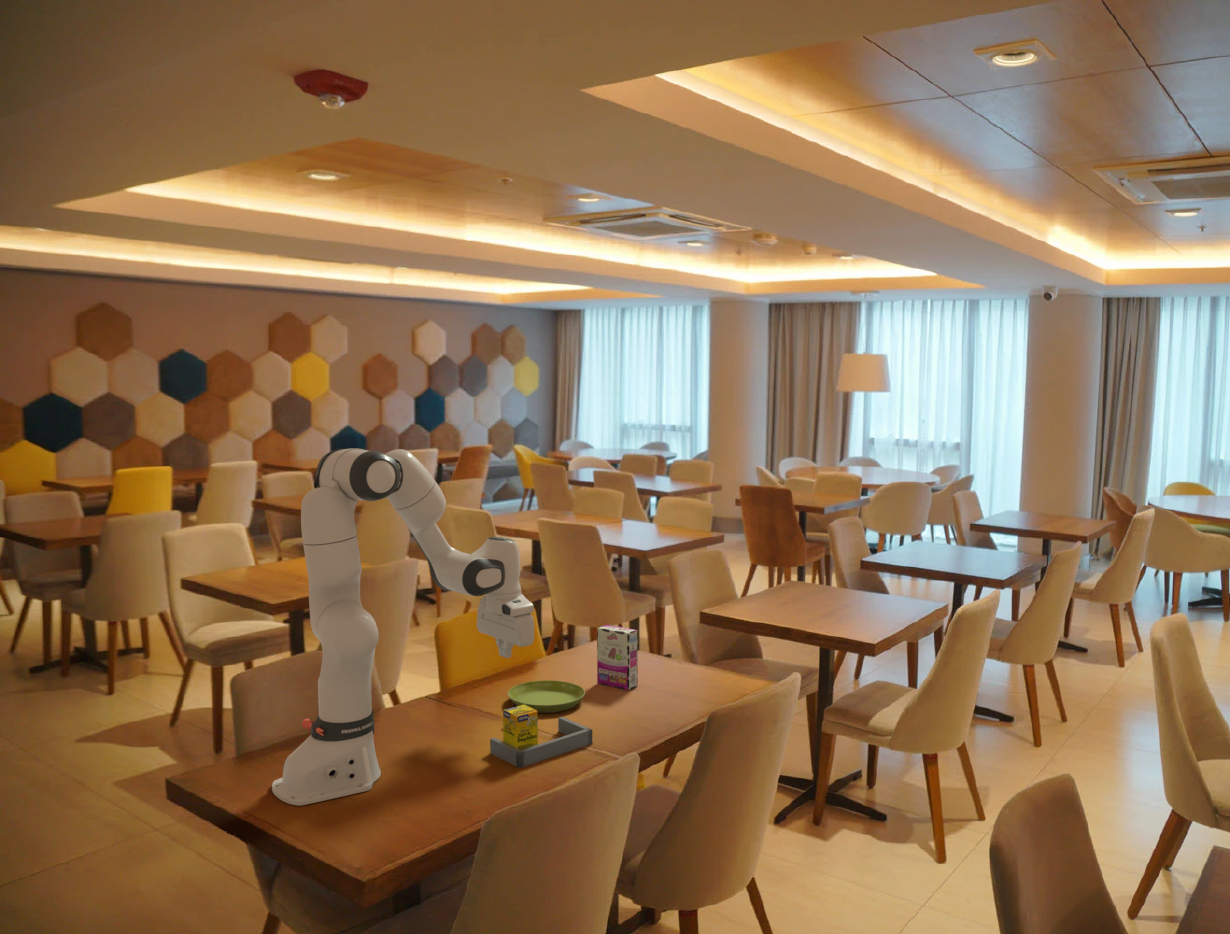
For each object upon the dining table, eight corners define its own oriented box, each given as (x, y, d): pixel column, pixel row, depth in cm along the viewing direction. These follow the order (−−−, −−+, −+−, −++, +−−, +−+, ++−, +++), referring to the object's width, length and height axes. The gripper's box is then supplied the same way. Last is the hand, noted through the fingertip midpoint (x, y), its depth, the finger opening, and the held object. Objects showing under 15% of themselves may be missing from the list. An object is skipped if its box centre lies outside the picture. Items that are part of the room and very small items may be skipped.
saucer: (555, 722, 238) (555, 710, 237) (492, 707, 248) (491, 695, 248) (599, 699, 255) (599, 687, 255) (538, 686, 266) (538, 675, 266)
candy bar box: (638, 686, 265) (638, 629, 264) (628, 691, 261) (628, 633, 260) (606, 679, 271) (606, 623, 270) (596, 683, 267) (596, 627, 266)
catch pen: (519, 768, 208) (519, 753, 208) (490, 753, 217) (490, 738, 217) (592, 743, 223) (592, 729, 222) (562, 730, 231) (562, 716, 231)
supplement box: (516, 763, 211) (516, 716, 210) (502, 755, 216) (502, 709, 215) (538, 756, 215) (538, 710, 214) (524, 749, 220) (523, 703, 219)
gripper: (469, 596, 236) (471, 650, 238) (516, 611, 221) (518, 668, 222) (490, 592, 240) (492, 645, 242) (538, 606, 225) (539, 662, 226)
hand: (505, 656), depth 232 cm, fingers closed
